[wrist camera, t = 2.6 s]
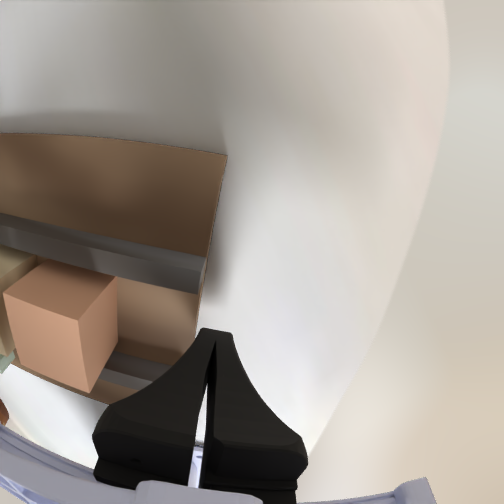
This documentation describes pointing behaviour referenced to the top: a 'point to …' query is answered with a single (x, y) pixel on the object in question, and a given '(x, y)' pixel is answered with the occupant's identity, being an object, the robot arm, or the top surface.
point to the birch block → (5, 275)
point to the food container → (3, 413)
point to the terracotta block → (64, 321)
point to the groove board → (118, 236)
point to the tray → (5, 361)
